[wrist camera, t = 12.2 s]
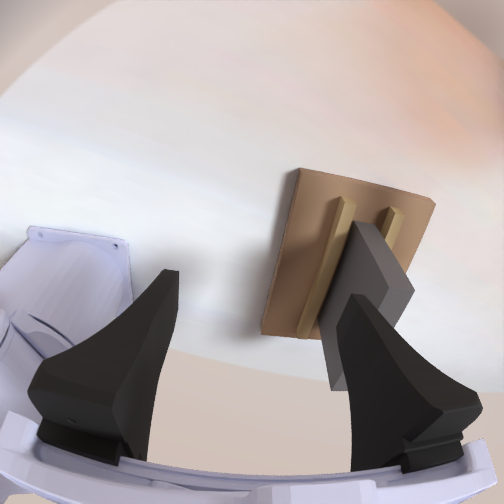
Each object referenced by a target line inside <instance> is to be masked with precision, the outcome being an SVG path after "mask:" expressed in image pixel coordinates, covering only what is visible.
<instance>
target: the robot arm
mask: <svg viewBox="0 0 504 504" xmlns="http://www.w3.org/2000/svg"><path fill="white" fill-rule="evenodd" d="M41 233H42V235H41ZM27 234H28V238H29V239H28V240H27V241H26V242H25V243H24V244H23V246H22V247H21V248H20V249H19V250H18V251H17V252H16V253H15V254H14V255H13V256H12V257H11V259H10V260H9V261H8V262H7V263H6V264H5V265H4V267H3V268H2V269H1V270H0V504H4V502H5V501H6V499H7V498H8V496H9V495H12V494H29V493H35V494H37V495H39V496H41V497H43V498H46V499H48V500H50V501H53V502H55V503H57V504H459V503H461V502H464V501H465V500H467V499H469V498H471V497H473V496H475V495H477V494H479V493H481V492H482V491H484V490H486V489H487V488H489V487H491V486H493V485H495V484H496V483H497V482H498V481H497V477H496V474H495V470H494V467H493V464H492V461H491V458H490V455H489V452H488V449H487V446H486V443H485V440H484V439H479V440H476V441H473V442H469V443H467V444H465V445H463V446H461V443H460V440H462V439H463V434H462V431H463V430H464V429H465V428H467V427H468V426H469V425H470V424H471V423H472V422H473V421H475V420H476V419H477V418H478V416H479V415H480V414H481V412H482V409H483V407H482V404H481V402H480V399H479V397H478V395H477V392H475V391H473V390H471V389H469V388H468V387H466V386H464V385H462V384H460V383H458V382H457V381H455V380H453V379H452V378H450V377H449V376H447V375H446V374H444V373H443V372H441V371H440V370H438V369H437V368H436V367H434V366H433V365H432V364H431V363H429V362H428V361H427V360H426V359H424V358H423V357H422V356H421V355H420V354H419V353H418V352H416V351H415V350H414V349H413V348H412V347H411V346H410V345H409V344H408V343H407V342H406V341H405V340H404V339H403V338H402V337H401V336H400V335H399V334H398V333H397V331H396V330H395V329H394V328H393V327H392V326H391V325H390V324H389V322H388V321H387V320H386V319H385V318H384V317H383V316H382V314H381V313H380V312H379V311H378V310H377V309H376V307H375V306H374V305H373V304H372V303H371V302H370V301H369V300H368V298H367V297H366V296H365V295H362V294H353V293H351V295H350V297H349V299H348V302H347V304H346V306H345V308H344V311H343V313H342V315H341V317H340V319H339V321H338V324H337V326H336V333H337V343H338V350H339V354H340V358H341V363H342V367H343V371H344V375H345V380H346V384H347V388H348V393H349V401H350V412H351V429H352V456H351V472H348V473H336V474H321V475H297V476H269V475H243V474H229V473H218V472H208V471H199V470H192V469H184V468H178V467H172V466H166V465H160V464H155V463H150V462H147V452H148V443H149V435H150V427H151V420H152V413H153V407H154V401H155V395H156V390H157V384H158V380H159V376H160V372H161V369H162V366H163V363H164V360H165V356H166V353H167V350H168V347H169V344H170V341H171V338H172V334H173V331H174V327H175V322H176V317H177V312H178V294H179V271H174V270H167V269H164V270H162V271H161V273H160V274H159V275H158V276H157V277H156V279H155V280H154V281H153V282H152V283H151V284H150V285H149V287H148V288H147V289H146V290H145V291H144V292H143V293H142V294H141V295H140V296H139V297H138V298H137V299H136V300H135V301H134V302H133V296H132V286H131V274H130V261H129V246H128V243H127V242H126V241H125V240H123V239H116V238H109V237H102V236H95V235H88V234H82V233H75V232H68V231H61V230H54V229H47V228H41V227H34V226H31V227H29V228H28V230H27ZM114 244H116V245H117V246H118V247H116V246H114ZM122 312H123V313H122ZM115 317H117V318H115ZM114 318H115V319H114Z"/></svg>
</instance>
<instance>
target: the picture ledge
mask: <svg viewBox="0 0 504 504" xmlns="http://www.w3.org/2000/svg"><path fill="white" fill-rule="evenodd" d="M435 205H436V204H435V203H434V202H433V201H432V200H431V199H430V198H428V197H424V196H420V195H417V194H413V193H409V192H406V191H402V190H398V189H394V188H390V187H386V186H382V185H378V184H374V183H370V182H366V181H361V180H357V179H352V178H348V177H343V176H339V175H334V174H329V173H324V172H319V171H314V170H309V169H304V168H300V169H299V173H298V178H297V182H296V186H295V190H294V195H293V199H292V203H291V207H290V211H289V216H288V220H287V224H286V228H285V232H284V236H283V240H282V244H281V248H280V252H279V256H278V260H277V264H276V268H275V272H274V276H273V280H272V284H271V288H270V292H269V296H268V300H267V304H266V307H265V311H264V315H263V319H262V323H261V335H270V336H281V337H291V338H297V339H316V340H321V335H320V330H319V325H318V320H317V318H318V315H319V313H320V311H321V308H322V306H323V303H324V300H325V298H326V295H327V293H328V290H329V288H330V285H331V282H332V280H333V277H334V274H335V272H336V269H337V266H338V264H339V261H340V258H341V255H342V253H343V250H344V247H345V244H346V241H347V238H348V235H349V233H350V230H351V227H352V224H353V221H360V222H365V223H370V224H375V226H376V227H377V229H378V230H379V232H380V233H381V235H382V236H383V238H384V240H385V241H386V243H387V244H388V246H389V248H390V249H391V251H392V252H393V254H394V256H395V257H396V259H397V261H398V262H399V264H400V266H401V267H402V269H403V271H404V272H405V274H406V272H407V270H408V267H409V265H410V263H411V261H412V259H413V257H414V255H415V252H416V250H417V248H418V246H419V244H420V241H421V239H422V237H423V234H424V232H425V230H426V227H427V225H428V223H429V220H430V218H431V215H432V213H433V210H434V208H435Z"/></svg>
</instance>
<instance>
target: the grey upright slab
mask: <svg viewBox="0 0 504 504" xmlns="http://www.w3.org/2000/svg"><path fill="white" fill-rule="evenodd" d="M414 291H415V290H414V288H413V286H412V284H411V283H410V281H409V279H408V277H407V276H406V274H405V272H404V271H403V269H402V267H401V266H400V264H399V262H398V261H397V259H396V257H395V256H394V254H393V252H392V251H391V249H390V248H389V246H388V244H387V243H386V241H385V240H384V238H383V236H382V235H381V233H380V232H379V230H378V229H377V227H376V226H375V224H370V223H365V222H360V221H353V224H352V227H351V230H350V233H349V235H348V238H347V241H346V244H345V247H344V250H343V253H342V255H341V258H340V261H339V264H338V266H337V269H336V272H335V274H334V277H333V280H332V282H331V285H330V288H329V290H328V293H327V295H326V298H325V300H324V303H323V306H322V308H321V311H320V313H319V315H318V318H317V320H318V325H319V330H320V335H321V340H322V345H323V350H324V356H325V361H326V366H327V372H328V377H329V383H330V388H331V391H348V388H347V384H346V380H345V375H344V371H343V367H342V363H341V358H340V354H339V350H338V343H337V333H336V326H337V324H338V321H339V319H340V317H341V315H342V313H343V311H344V308H345V306H346V304H347V302H348V299H349V297H350V295H351V293H353V294H362V295H365V296H366V297H367V298H368V300H369V301H370V302H371V303H372V304H373V305H374V306H375V307H376V309H377V310H378V311H379V312H380V313H381V314H382V316H383V317H384V318H385V319H386V320H387V321H388V322H389V324H390V325H391V326H392V327H393V328H394V327H395V325H396V323H397V322H398V320H399V318H400V317H401V315H402V313H403V311H404V310H405V308H406V306H407V304H408V302H409V301H410V299H411V297H412V295H413V293H414Z"/></svg>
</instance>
